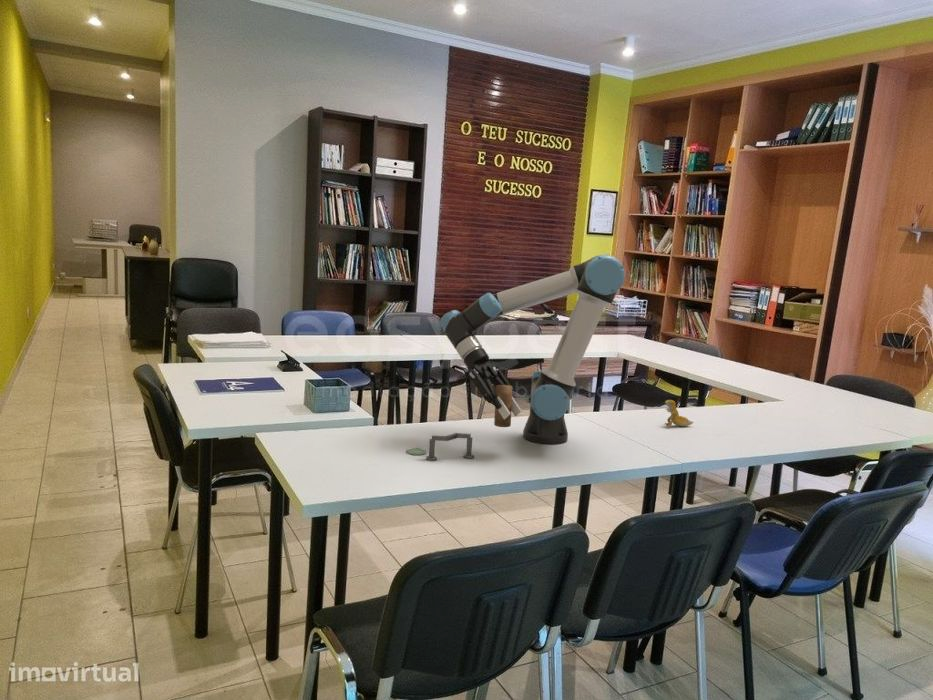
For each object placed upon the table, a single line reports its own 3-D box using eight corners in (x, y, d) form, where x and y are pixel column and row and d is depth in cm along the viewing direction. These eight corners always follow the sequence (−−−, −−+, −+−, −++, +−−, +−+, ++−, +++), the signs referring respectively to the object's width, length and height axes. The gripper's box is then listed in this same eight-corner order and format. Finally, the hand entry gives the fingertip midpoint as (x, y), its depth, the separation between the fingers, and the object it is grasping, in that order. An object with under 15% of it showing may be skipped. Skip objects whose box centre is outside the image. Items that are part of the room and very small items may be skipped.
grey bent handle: (470, 454, 204) (471, 431, 203) (475, 458, 201) (477, 435, 200) (424, 457, 198) (425, 434, 197) (429, 461, 195) (430, 438, 194)
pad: (426, 450, 207) (426, 448, 206) (425, 455, 201) (425, 454, 201) (407, 448, 207) (407, 447, 206) (405, 454, 201) (405, 453, 201)
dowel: (510, 423, 206) (511, 385, 205) (511, 427, 201) (513, 388, 200) (493, 422, 206) (495, 384, 205) (494, 426, 201) (496, 387, 200)
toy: (650, 416, 256) (663, 394, 254) (680, 429, 261) (694, 408, 259) (658, 424, 250) (672, 402, 248) (688, 437, 255) (703, 415, 253)
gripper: (484, 358, 218) (522, 417, 210) (447, 364, 204) (487, 427, 196) (497, 344, 214) (537, 403, 206) (460, 349, 200) (502, 412, 192)
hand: (512, 415), depth 201 cm, fingers closed on dowel, 5 cm apart
